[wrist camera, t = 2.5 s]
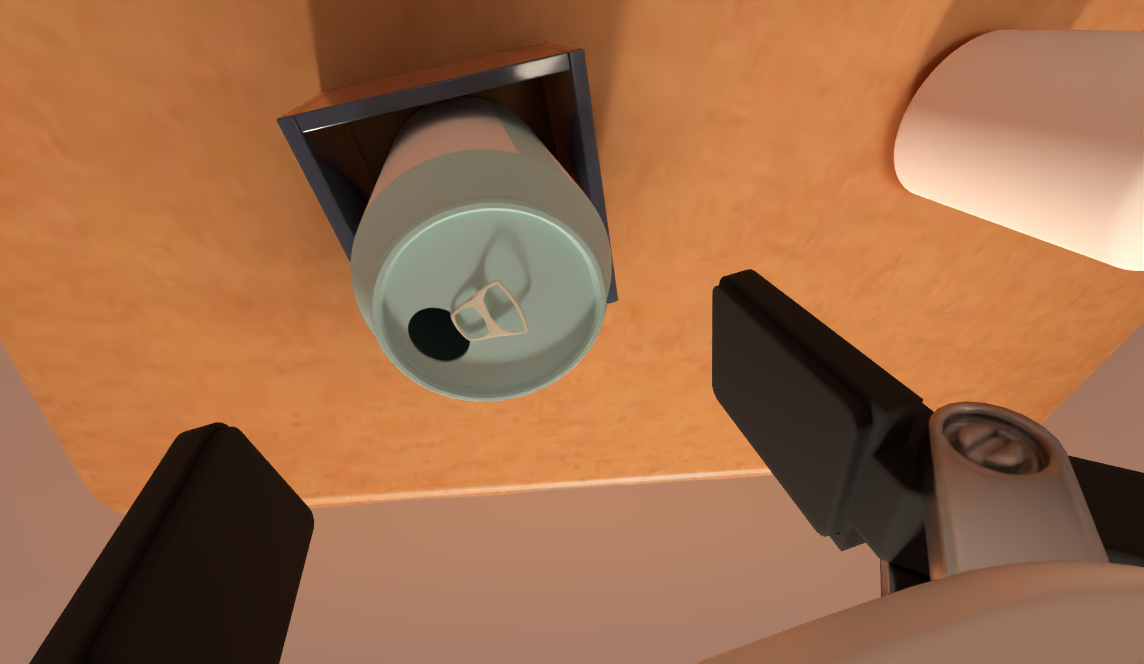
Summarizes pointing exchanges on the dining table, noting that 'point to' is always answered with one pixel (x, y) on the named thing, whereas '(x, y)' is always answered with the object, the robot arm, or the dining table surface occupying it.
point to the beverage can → (1037, 138)
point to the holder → (332, 147)
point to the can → (479, 256)
